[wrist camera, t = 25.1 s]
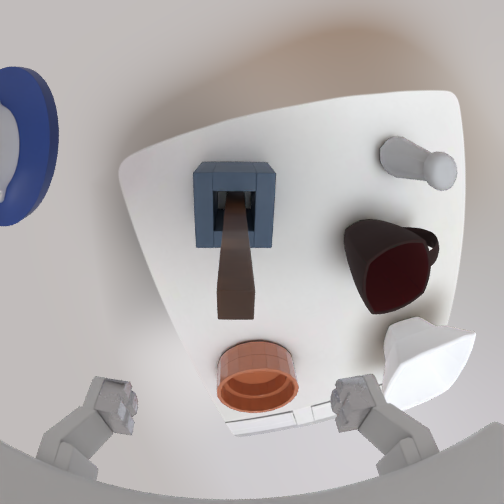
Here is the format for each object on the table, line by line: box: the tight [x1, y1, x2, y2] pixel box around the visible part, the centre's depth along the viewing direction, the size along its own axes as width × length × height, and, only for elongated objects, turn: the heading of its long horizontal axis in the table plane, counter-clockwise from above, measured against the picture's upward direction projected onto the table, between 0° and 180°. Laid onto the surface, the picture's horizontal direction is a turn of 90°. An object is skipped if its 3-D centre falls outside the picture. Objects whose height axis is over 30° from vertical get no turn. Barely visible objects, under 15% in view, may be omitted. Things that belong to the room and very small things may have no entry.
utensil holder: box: [193, 162, 276, 248], centre depth 33 cm, size 8×8×8 cm
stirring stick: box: [217, 191, 255, 320], centre depth 26 cm, size 2×2×24 cm
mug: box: [344, 219, 439, 314], centre depth 35 cm, size 10×14×12 cm
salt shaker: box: [380, 137, 457, 191], centre depth 29 cm, size 6×6×13 cm
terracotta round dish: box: [217, 342, 299, 413], centre depth 48 cm, size 14×14×7 cm
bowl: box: [382, 317, 476, 411], centre depth 44 cm, size 19×19×14 cm
